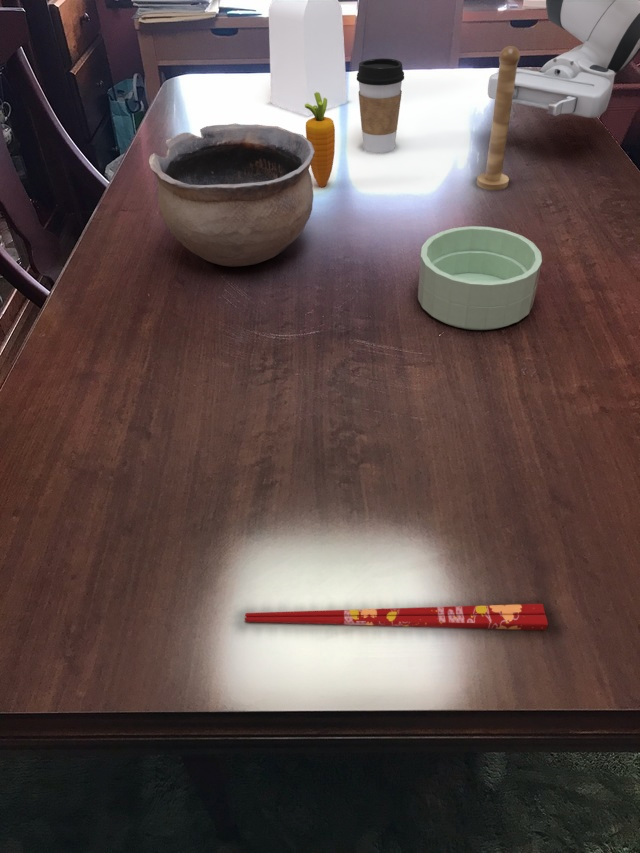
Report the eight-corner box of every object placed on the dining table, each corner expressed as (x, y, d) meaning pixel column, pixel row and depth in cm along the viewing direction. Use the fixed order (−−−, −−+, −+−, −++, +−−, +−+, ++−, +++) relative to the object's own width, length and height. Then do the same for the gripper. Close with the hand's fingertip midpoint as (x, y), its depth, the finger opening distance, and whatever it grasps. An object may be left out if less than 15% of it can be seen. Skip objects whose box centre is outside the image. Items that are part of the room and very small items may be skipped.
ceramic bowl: (222, 208, 113) (208, 113, 103) (342, 231, 105) (340, 131, 95) (139, 272, 98) (114, 168, 88) (272, 304, 91) (261, 195, 81)
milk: (271, 105, 150) (260, -37, 133) (310, 92, 156) (304, -46, 138) (308, 117, 143) (301, -30, 126) (347, 103, 149) (346, -40, 131)
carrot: (331, 195, 115) (329, 100, 105) (303, 192, 116) (298, 98, 106) (340, 183, 119) (338, 90, 108) (313, 180, 120) (309, 88, 110)
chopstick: (246, 613, 56) (244, 606, 56) (541, 609, 56) (543, 602, 55) (244, 634, 55) (242, 628, 54) (546, 631, 54) (549, 624, 54)
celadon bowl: (485, 263, 97) (492, 216, 92) (556, 313, 87) (567, 264, 82) (396, 291, 92) (399, 243, 88) (460, 347, 83) (466, 296, 78)
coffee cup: (347, 152, 129) (347, 64, 119) (371, 137, 134) (372, 52, 124) (386, 160, 125) (389, 71, 115) (409, 145, 130) (413, 58, 120)
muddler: (495, 176, 118) (513, 39, 104) (514, 187, 115) (536, 47, 101) (470, 183, 117) (485, 45, 103) (488, 194, 113) (507, 53, 99)
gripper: (512, 54, 123) (471, 73, 116) (624, 72, 113) (588, 95, 105) (507, 92, 127) (467, 113, 120) (615, 112, 117) (579, 137, 110)
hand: (525, 105), depth 113 cm, fingers open, 8 cm apart
